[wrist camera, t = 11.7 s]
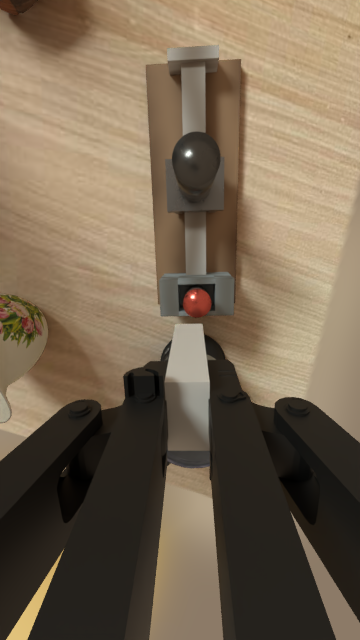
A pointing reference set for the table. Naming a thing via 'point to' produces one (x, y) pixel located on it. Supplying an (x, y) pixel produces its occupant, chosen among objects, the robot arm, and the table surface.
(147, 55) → the table surface
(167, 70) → the rail base
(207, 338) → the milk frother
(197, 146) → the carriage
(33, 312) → the pitcher
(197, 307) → the red ball knob
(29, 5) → the broken pottery
